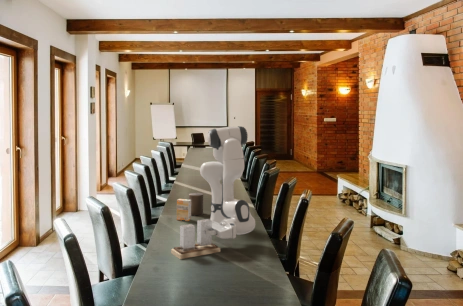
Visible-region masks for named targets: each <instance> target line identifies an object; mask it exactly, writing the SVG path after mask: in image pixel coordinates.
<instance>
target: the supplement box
mask: <svg viewBox="0 0 463 306" xmlns="http://www.w3.org/2000/svg"><path fill="white" fill-rule="evenodd" d="M190 219H192V215H191V200H189V199H186V198H185V199H184V198H178V199H176V221H182V220H185V222H189V221H191V220H190Z"/></svg>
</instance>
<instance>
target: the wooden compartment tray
mask: <svg viewBox="0 0 463 306" xmlns="http://www.w3.org/2000/svg"><path fill="white" fill-rule="evenodd" d="M170 252H171V255H173V256H174V257H176V258H178V259H179V260H182V259H188V258H193V257H200V256H206V255H210V254H211V255H212V254H216V253H221V247H219V246H218V245H217V244H215V243H213V242H212V244H211V245H205V246H200V245H198V244H197V243H195V250H189V251H181V250H180V246H174V247H173V248H171V249H170Z"/></svg>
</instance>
